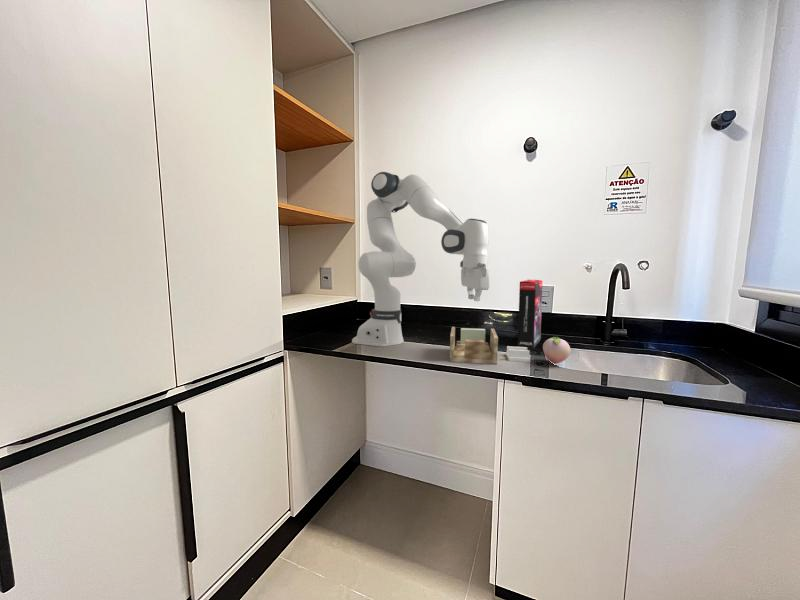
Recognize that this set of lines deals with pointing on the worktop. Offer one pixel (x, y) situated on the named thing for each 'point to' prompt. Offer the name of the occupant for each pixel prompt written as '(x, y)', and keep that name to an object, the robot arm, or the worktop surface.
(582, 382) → the worktop surface
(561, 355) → the decorative fruit
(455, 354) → the rack
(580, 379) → the worktop surface
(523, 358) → the holder
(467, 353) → the offcut lower
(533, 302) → the graphics card box
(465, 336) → the sheet
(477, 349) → the offcut upper
